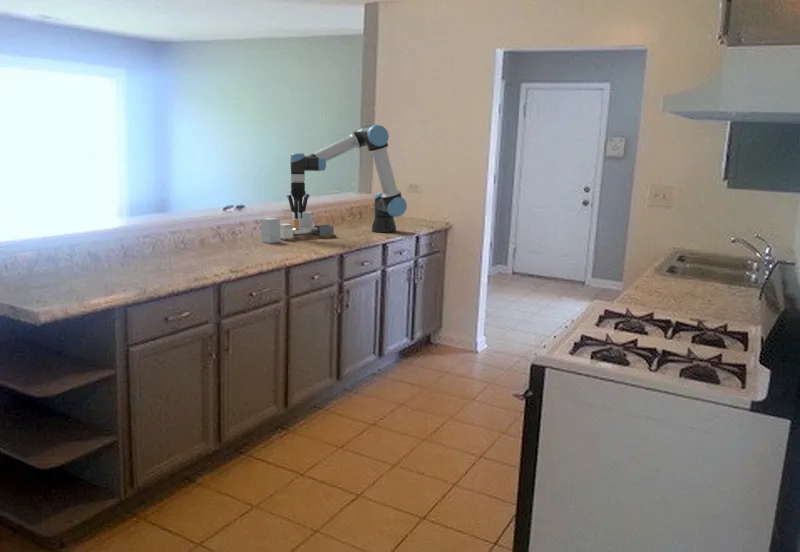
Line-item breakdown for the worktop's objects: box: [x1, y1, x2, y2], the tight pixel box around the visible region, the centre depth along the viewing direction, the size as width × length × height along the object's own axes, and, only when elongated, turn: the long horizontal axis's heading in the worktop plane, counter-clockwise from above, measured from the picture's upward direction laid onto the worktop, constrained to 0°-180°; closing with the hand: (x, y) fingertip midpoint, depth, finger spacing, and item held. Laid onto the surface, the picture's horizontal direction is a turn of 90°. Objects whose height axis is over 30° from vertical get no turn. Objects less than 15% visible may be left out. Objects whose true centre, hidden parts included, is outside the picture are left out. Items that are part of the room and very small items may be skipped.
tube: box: [292, 220, 318, 236], centre depth 375 cm, size 18×4×9 cm, turn 125°
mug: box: [291, 211, 317, 229], centre depth 392 cm, size 15×11×13 cm
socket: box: [280, 223, 293, 239], centre depth 370 cm, size 5×8×7 cm
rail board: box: [281, 234, 337, 242], centre depth 378 cm, size 32×9×1 cm, turn 125°
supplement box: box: [260, 217, 282, 244], centre depth 362 cm, size 7×7×13 cm
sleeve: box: [313, 224, 335, 236], centre depth 383 cm, size 9×7×5 cm
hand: (298, 224), depth 374 cm, fingers closed
